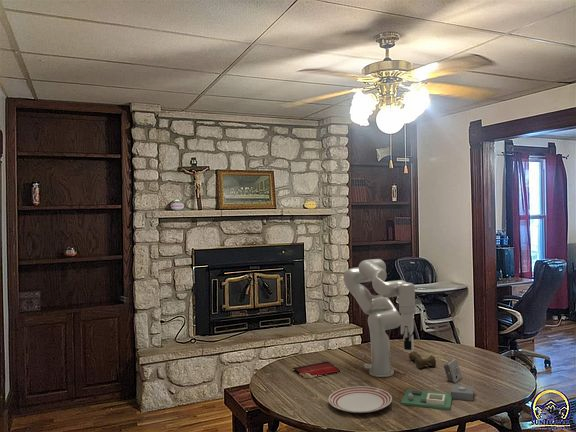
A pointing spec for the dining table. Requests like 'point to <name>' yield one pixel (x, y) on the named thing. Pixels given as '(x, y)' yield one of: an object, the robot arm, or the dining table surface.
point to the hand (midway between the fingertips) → (408, 347)
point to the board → (427, 399)
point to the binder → (318, 369)
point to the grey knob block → (462, 392)
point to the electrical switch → (453, 371)
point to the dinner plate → (360, 399)
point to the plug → (411, 344)
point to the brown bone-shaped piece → (422, 360)
